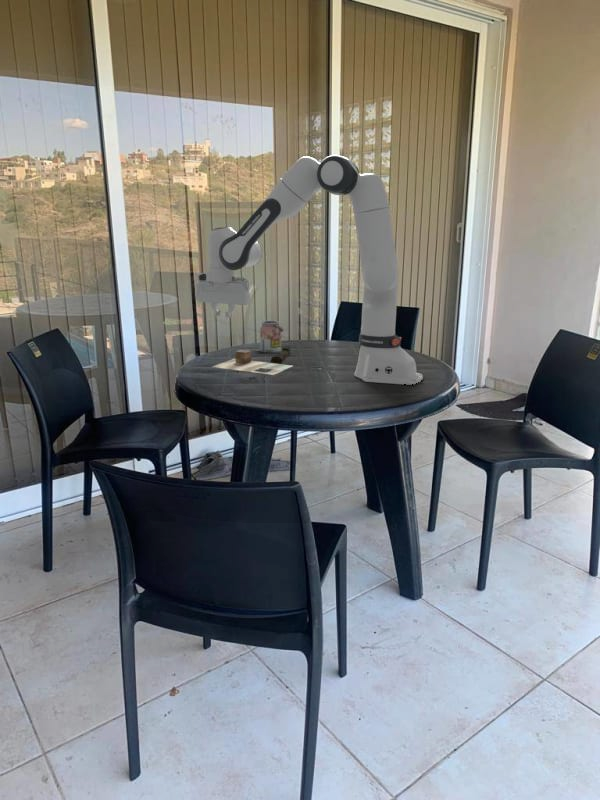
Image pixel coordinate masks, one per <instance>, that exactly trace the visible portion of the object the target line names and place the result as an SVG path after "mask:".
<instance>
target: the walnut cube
mask: <svg viewBox="0 0 600 800" xmlns="http://www.w3.org/2000/svg"><path fill="white" fill-rule="evenodd" d="M234 356H235V359H236V363H242V364H247V363H249V362H251V361H252V350H248V349H239V350H235V355H234Z"/></svg>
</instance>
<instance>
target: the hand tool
mask: <svg viewBox="0 0 600 800" xmlns="http://www.w3.org/2000/svg"><path fill="white" fill-rule="evenodd" d="M290 355H291V346H290V345H285V346H283V347H281V351H280V352H279V353H276V355H274V356H272V357H271V359H270V363H275V364H282V362H283V361H285V360H286V359H287V357H289V356H290Z"/></svg>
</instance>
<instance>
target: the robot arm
mask: <svg viewBox="0 0 600 800" xmlns="http://www.w3.org/2000/svg"><path fill="white" fill-rule="evenodd" d="M384 184H385V183H384V182H383V180H382V177H381V176H380V175H378V174H376V173H372V172H371V173H370V172H368V173H360V171H359V168H358V167H357V165H356V164H355V163H354V162H353V161H352V160H351V159H349V158H347V157H345V156H342V155H338V154H332V155H329V156H326V157H324V159H322V161H320V162H319V161H318V160H317V159H315V158H313V157H312V156H311V157H310V156H307V155H306V156H302V157H300V158H299V159H298V160H296V161H295V162H294V163H293V164H292V165H291V166H290V168H289V169H287V171H286V172H285V173H284V174H283V175H282V177H281V178H280V179H279V181H278V182H277V183H276V185H274V188H273V189H272V190H271V192H270V193H269V194H268V196H266V198H265V199H264V201H263V202H262V203H261V205H259V207H258V208H257V209H256V211H254V213H253V214H251V216H250V217H249V218H248V220H247V221H246V222H245V223H244V224H243V226H242V227H241V228H240V229H239V230H238V231H236V230H234V228H233V227H230V226H223V227H216V228H213V229H212V230H211V231H210V233H209V237H208V256H209V265H208V271H205V272H201V273H199V274H197V275H196V281H197V282H196V285H195V299H196V301H197V302H198V303H209V304H210V306H211V308H212V310H213V312H214V315H213V316H214V317H221V310H219V308H218V305H219V304H220V305H221V304H222V305H224V304H225V305H227V307H228V310H227V311H225V317H227V318H232V316H233V311H234V309H235V308H236V307H235V306H237V305H238V306H247V305H249V304H250V302H251V298H250V297H251V296H250V295H251V294H250V289H249V288H250V282H249V280H248V279H247V278H246V277H239V276H236V271H238V270H241V269H244V268H245V269H246V268H250V267H253V266H255V265H257V264H259V262H260V261H261V259H262V256H263V248H262V246H261V244H260V243H259V239H260V238H262V236H264V235H265V233H266V232H267V231H268V229H270V228H271V227H273V226H274V225H275V224H277V223H280V222H282V221H284V220H287V219H290V218H293V217H294V216H295V215H297V214H298V213H300V211H301V210H302V209H303V208H304V207H305V206H306V205H307V203H308V202H310V200H311V199H312V197H313V196H314V195H315V194H316V193H317V192H318V191H320V190H322V189H323V190H324V191H326V192H327V193H330V194H332V195H336V196H347V197H349V199H350V202H351V206H352V211H353V217H354V223H355V231H356V237H357V242H358V251H359V259H360V266H361V274H362V279H363V296H362V306H361V308H362V309H361V325H360V333H359V337H358V350H359V353H358V359H357V363H356V367H355V372H354V373H353V375H354V377H356V378H358V379H361V380H362V381H363V382H365V383H366V382H367V383H379V384H391V385H392V384H394V385H404V384H406V385H409V386H411V385H412V384H413V385H416V383H417V384H419V383H421V382H422V381H423V377H424V375H423V374H422V373H419V372H417V365H416V364H417V363H416V361H415V358H414V357H412V356H411V354H409V353H408V352H407V351H406V350H404V349H403V348H402V347H401V341H402V336H398V335H397V334H396V324H397V323H396V322H397V304H398V284H399V267H398V259H397V251H396V247H395V239H394V232H393V224H392V218H391V211H390V205H389V199H388V196H387V191H386V188H385V185H384ZM421 380H422V381H421ZM418 382H419V383H418Z"/></svg>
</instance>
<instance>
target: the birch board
mask: <svg viewBox="0 0 600 800" xmlns="http://www.w3.org/2000/svg"><path fill="white" fill-rule="evenodd" d="M292 367H293V365H292V364H291V365H289V364H284V363H283V364H282V363H275V362H265V361H256V360H251V362H249V363H247V364H242V363H236V358H232V359H229V360H226V361H224V362H221V363H218V364H215V365H213V366H211V368H216V369H224V370H232V371H239V372H245V373H246V372H247V373H249V372H250V373H257V374H262V375H270V376H271V375H272V376H275V375H277V374H279V373H282V372H284V371H285V370H288V369H290V368H292ZM259 369H263V370H270V371H267V372H263V371H256V370H259ZM293 371H294V369H291V370H288V371H286V372H285V373H283V374H280V375H277V376H275V377H274V378H273V380H275V378H276V379H278V378H280V377H283V376H284V375H287V374H288V373H290V372H293ZM279 376H280V377H279ZM277 377H278V378H277Z"/></svg>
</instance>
